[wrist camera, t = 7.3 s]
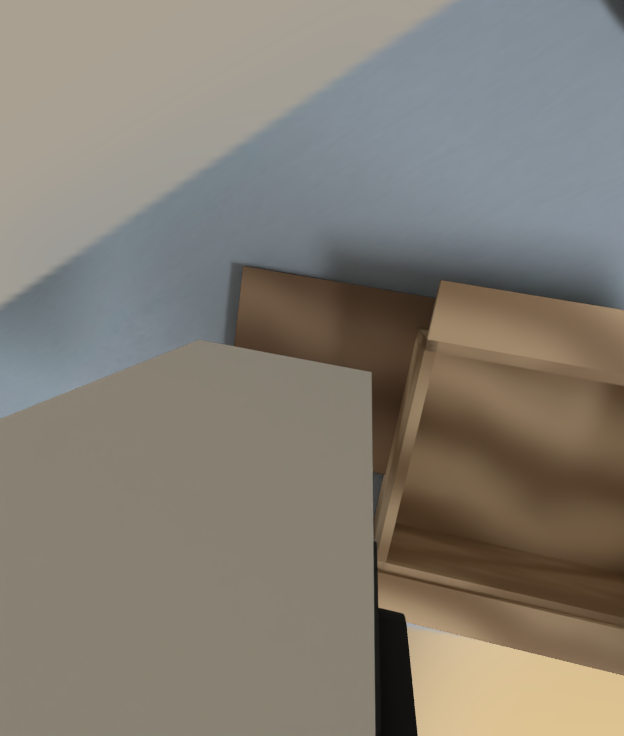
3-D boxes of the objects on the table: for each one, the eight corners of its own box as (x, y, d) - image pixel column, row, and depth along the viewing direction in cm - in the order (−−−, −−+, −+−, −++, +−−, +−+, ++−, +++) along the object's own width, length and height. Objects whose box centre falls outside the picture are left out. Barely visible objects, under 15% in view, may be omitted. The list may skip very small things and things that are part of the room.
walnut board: (246, 266, 27) (243, 266, 26) (433, 297, 26) (435, 298, 25) (227, 436, 30) (223, 440, 29) (393, 471, 29) (394, 476, 28)
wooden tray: (427, 278, 26) (441, 280, 20) (728, 327, 24) (823, 342, 19) (365, 555, 31) (364, 611, 26) (610, 612, 29) (661, 684, 24)
